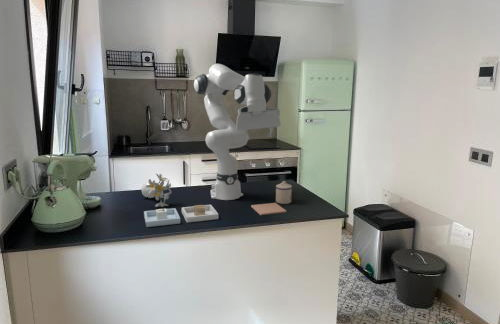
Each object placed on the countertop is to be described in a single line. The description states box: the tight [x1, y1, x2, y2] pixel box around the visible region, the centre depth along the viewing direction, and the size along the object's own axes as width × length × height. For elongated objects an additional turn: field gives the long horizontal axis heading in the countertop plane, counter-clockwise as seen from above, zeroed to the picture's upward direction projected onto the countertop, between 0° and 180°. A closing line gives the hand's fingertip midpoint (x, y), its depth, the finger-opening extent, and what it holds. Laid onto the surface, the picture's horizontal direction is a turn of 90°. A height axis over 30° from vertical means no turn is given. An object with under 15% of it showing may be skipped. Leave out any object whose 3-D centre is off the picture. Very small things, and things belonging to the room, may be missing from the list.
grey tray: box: [181, 204, 219, 223], centre depth 179 cm, size 15×15×3 cm
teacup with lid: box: [275, 180, 293, 205], centre depth 204 cm, size 12×9×12 cm
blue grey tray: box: [143, 207, 181, 228], centre depth 173 cm, size 15×15×3 cm
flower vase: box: [141, 173, 173, 208], centre depth 201 cm, size 13×18×25 cm
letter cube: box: [155, 208, 167, 220], centre depth 173 cm, size 4×4×5 cm
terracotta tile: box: [250, 202, 287, 216], centre depth 191 cm, size 14×14×1 cm
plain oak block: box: [193, 204, 205, 216], centre depth 179 cm, size 4×4×4 cm
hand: (259, 138), depth 169 cm, fingers open, 8 cm apart
